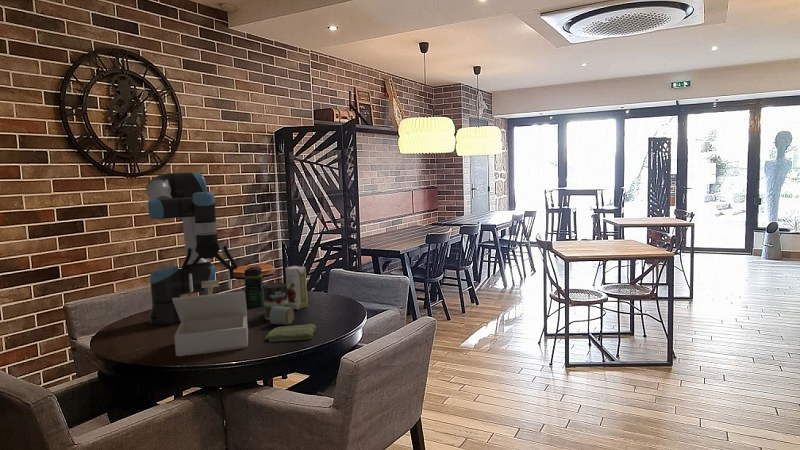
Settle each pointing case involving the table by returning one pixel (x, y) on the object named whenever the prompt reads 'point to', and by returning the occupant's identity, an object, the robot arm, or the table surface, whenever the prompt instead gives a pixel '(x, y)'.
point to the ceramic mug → (281, 315)
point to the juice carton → (296, 287)
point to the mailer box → (211, 335)
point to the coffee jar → (254, 286)
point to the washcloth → (292, 333)
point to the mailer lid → (210, 304)
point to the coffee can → (274, 296)
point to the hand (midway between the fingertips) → (211, 289)
